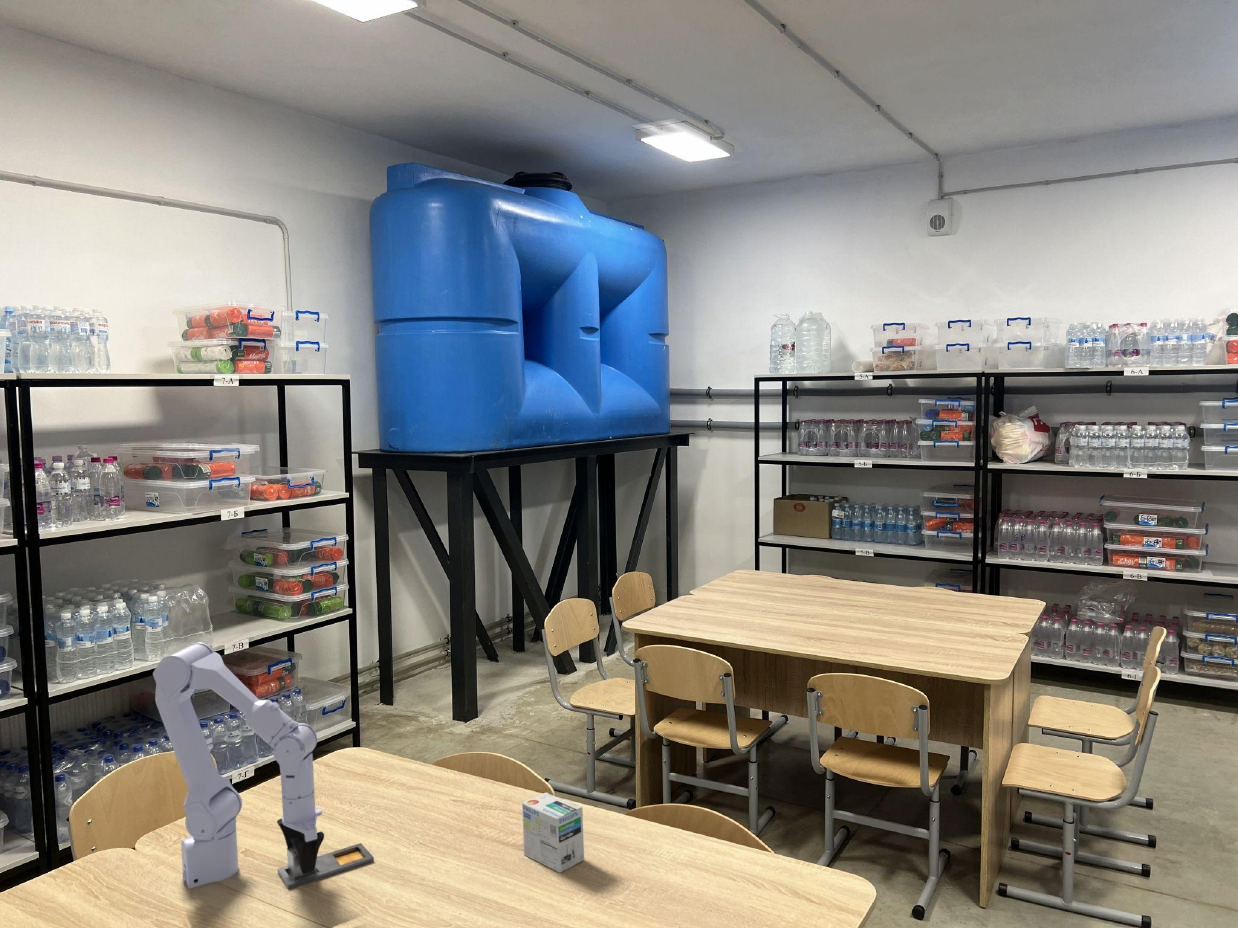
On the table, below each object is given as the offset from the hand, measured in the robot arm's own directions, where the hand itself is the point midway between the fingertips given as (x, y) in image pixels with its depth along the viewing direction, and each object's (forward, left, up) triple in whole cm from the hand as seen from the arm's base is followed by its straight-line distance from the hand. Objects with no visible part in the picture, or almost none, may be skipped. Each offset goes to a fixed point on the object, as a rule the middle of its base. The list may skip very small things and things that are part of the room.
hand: (302, 863), depth 168 cm
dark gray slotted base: (+4, 0, -3) cm, 6 cm away
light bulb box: (+41, -22, -4) cm, 47 cm away
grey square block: (0, 0, -2) cm, 2 cm away
